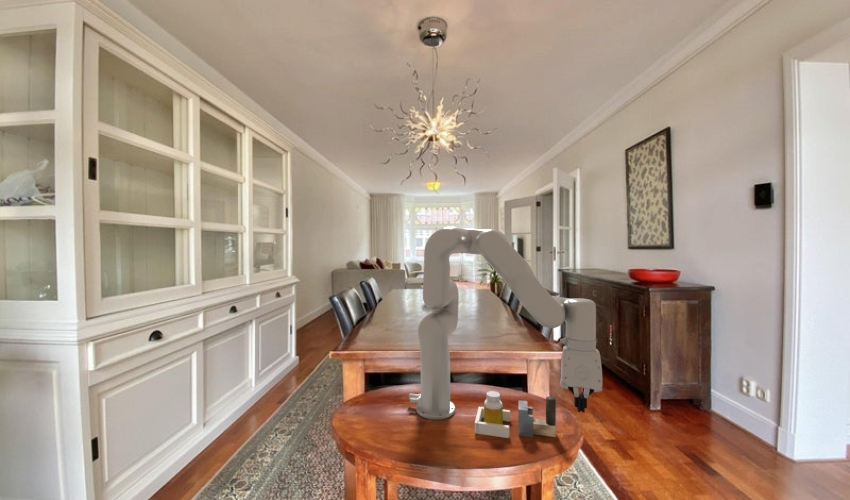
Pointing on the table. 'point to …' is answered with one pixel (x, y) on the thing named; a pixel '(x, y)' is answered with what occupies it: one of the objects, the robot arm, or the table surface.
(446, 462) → the table surface
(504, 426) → the frame
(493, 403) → the supplement bottle
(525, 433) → the guide block
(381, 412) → the table surface
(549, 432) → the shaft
